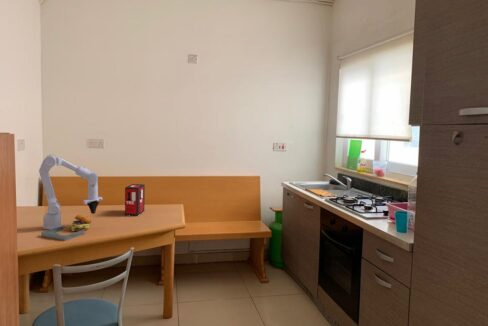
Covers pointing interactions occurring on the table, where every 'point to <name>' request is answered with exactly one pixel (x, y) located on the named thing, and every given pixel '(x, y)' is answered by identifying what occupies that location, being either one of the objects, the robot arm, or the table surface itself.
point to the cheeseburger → (81, 223)
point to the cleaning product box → (134, 199)
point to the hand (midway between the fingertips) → (93, 213)
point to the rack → (54, 235)
